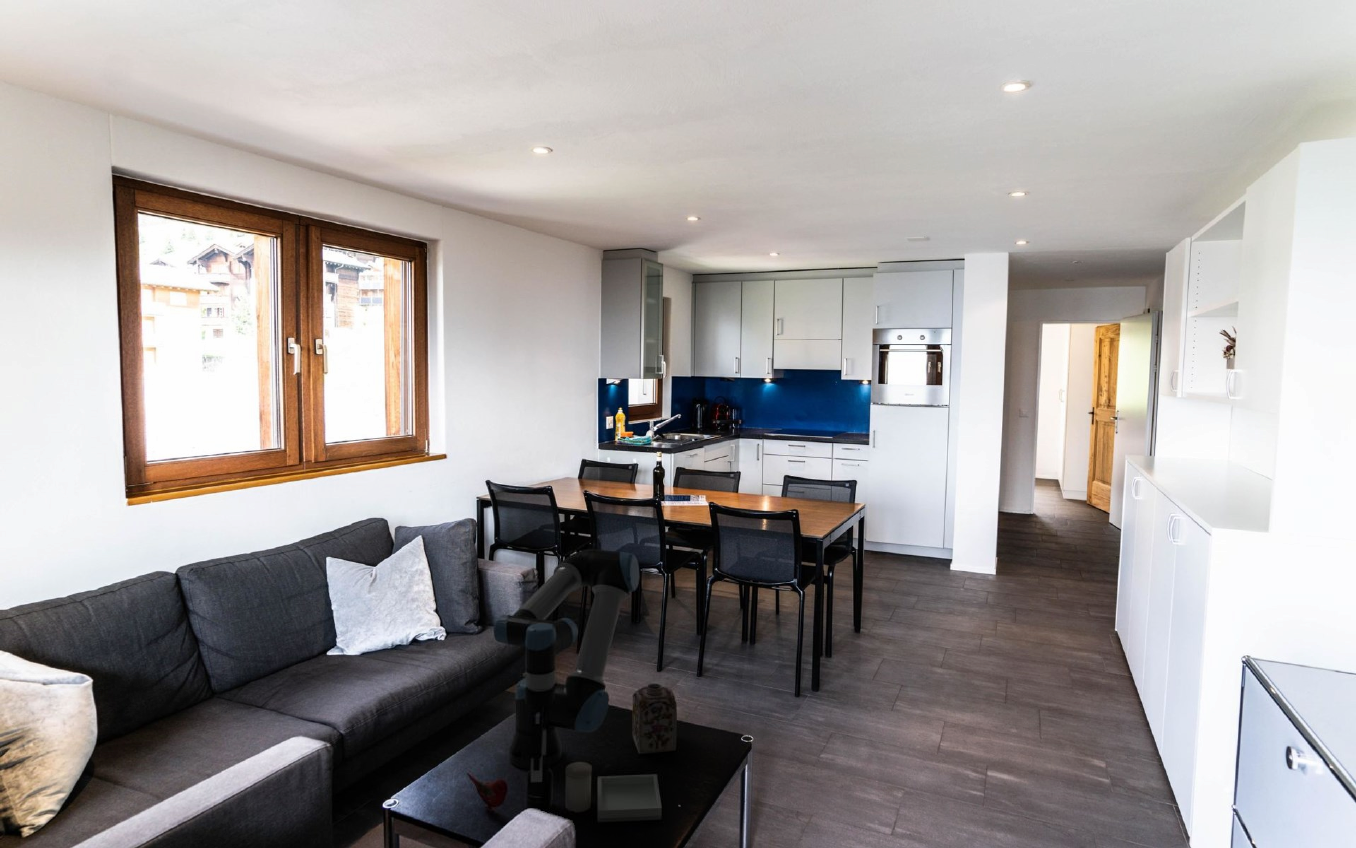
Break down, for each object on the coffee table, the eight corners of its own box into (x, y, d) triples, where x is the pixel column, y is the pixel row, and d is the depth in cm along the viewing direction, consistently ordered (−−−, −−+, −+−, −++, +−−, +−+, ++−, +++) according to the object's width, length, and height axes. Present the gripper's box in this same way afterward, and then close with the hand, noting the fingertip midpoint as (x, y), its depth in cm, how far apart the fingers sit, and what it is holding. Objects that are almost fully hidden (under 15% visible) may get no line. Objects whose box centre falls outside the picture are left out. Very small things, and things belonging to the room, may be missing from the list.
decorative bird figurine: (503, 825, 182) (503, 786, 182) (462, 798, 194) (462, 761, 193) (512, 820, 185) (513, 781, 184) (471, 793, 196) (471, 757, 196)
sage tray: (597, 787, 200) (597, 776, 200) (656, 785, 202) (656, 774, 202) (597, 822, 185) (597, 810, 184) (661, 819, 186) (661, 808, 186)
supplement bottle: (528, 816, 186) (528, 770, 186) (522, 802, 193) (523, 757, 192) (555, 811, 189) (555, 765, 188) (549, 797, 195) (549, 752, 195)
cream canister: (565, 798, 195) (565, 762, 194) (591, 797, 196) (592, 761, 195) (564, 813, 188) (564, 776, 188) (591, 812, 189) (591, 775, 188)
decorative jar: (638, 755, 218) (638, 695, 217) (631, 736, 229) (632, 680, 228) (677, 751, 221) (678, 692, 220) (668, 733, 232) (669, 677, 231)
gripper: (529, 668, 201) (528, 744, 202) (519, 707, 176) (518, 794, 177) (557, 667, 202) (556, 743, 203) (551, 706, 177) (550, 793, 178)
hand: (538, 767), depth 190 cm, fingers open, 13 cm apart
